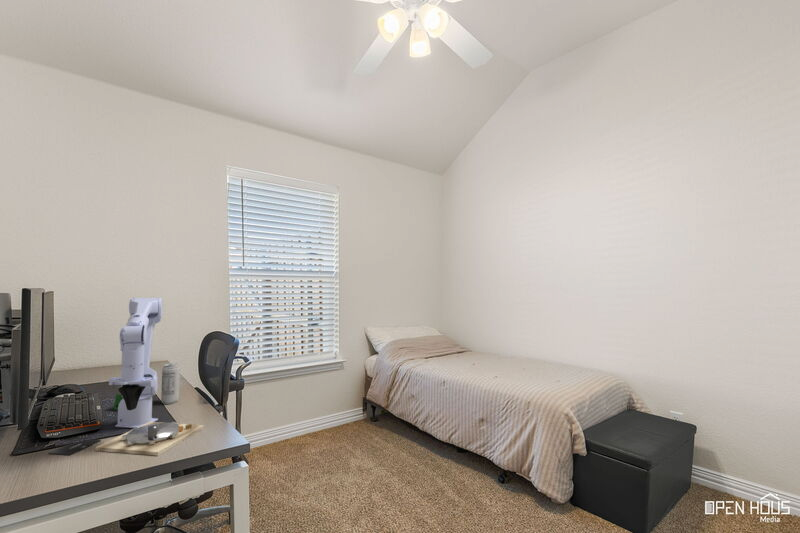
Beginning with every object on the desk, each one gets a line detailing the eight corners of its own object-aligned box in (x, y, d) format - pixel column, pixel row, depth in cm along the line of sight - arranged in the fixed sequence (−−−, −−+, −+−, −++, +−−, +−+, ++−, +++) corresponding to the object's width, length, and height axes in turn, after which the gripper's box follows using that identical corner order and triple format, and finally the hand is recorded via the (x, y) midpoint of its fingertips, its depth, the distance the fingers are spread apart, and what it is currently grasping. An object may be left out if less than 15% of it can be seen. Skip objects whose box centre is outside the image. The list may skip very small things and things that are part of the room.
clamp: (145, 419, 149) (158, 396, 150) (133, 421, 143) (147, 397, 145) (122, 404, 151) (135, 382, 153) (109, 406, 146) (123, 383, 147)
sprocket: (118, 450, 110) (118, 433, 110) (125, 430, 124) (125, 416, 124) (183, 438, 118) (183, 423, 118) (183, 421, 132) (183, 408, 132)
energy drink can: (182, 400, 158) (182, 363, 158) (172, 405, 152) (172, 366, 152) (168, 399, 159) (169, 362, 159) (157, 404, 153) (158, 365, 153)
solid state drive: (101, 442, 119) (101, 439, 119) (69, 457, 109) (69, 454, 109) (81, 440, 120) (81, 438, 120) (47, 455, 110) (47, 452, 110)
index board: (95, 450, 112) (95, 442, 112) (149, 424, 132) (149, 418, 132) (158, 455, 110) (158, 447, 110) (203, 428, 129) (203, 421, 129)
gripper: (100, 366, 117) (99, 412, 117) (143, 368, 115) (142, 415, 115) (120, 361, 124) (119, 404, 124) (161, 363, 122) (160, 407, 122)
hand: (131, 409), depth 120 cm, fingers closed
